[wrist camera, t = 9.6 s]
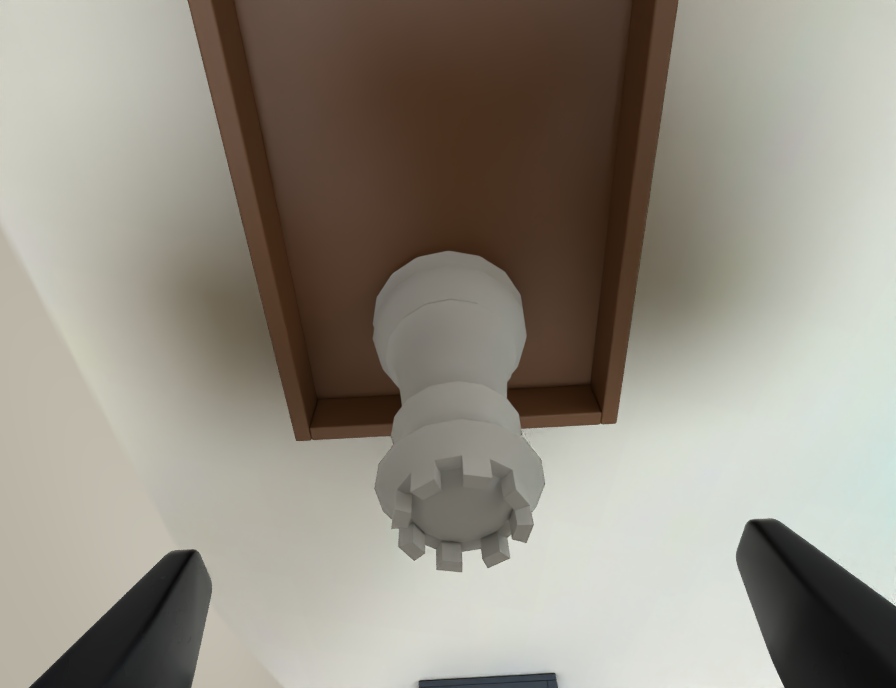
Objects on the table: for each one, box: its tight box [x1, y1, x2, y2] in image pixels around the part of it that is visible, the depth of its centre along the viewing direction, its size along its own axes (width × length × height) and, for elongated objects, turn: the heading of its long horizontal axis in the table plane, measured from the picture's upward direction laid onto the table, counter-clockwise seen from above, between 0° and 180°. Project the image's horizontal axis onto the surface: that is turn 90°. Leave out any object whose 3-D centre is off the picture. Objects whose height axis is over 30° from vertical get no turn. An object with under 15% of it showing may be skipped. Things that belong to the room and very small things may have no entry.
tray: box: [188, 0, 678, 441], centre depth 14 cm, size 10×16×2 cm, turn 3°
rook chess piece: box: [373, 251, 545, 572], centre depth 13 cm, size 4×4×8 cm
